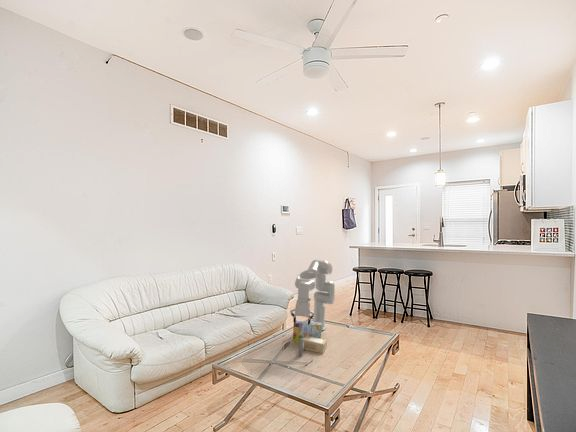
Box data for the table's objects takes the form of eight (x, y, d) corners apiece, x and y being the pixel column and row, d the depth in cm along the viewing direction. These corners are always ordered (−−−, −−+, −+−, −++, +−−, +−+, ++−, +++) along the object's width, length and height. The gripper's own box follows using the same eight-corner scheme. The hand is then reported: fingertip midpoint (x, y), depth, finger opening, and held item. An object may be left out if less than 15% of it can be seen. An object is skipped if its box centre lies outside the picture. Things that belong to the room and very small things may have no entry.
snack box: (320, 341, 244) (321, 322, 243) (320, 344, 238) (321, 325, 238) (293, 338, 246) (294, 319, 245) (292, 342, 241) (293, 322, 240)
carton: (305, 343, 238) (306, 335, 238) (326, 348, 232) (326, 340, 232) (302, 348, 231) (302, 339, 231) (323, 353, 225) (323, 344, 224)
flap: (300, 347, 231) (301, 332, 230) (303, 348, 230) (304, 332, 230) (298, 356, 218) (299, 339, 218) (302, 356, 218) (303, 339, 218)
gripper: (316, 299, 221) (314, 323, 222) (291, 296, 224) (290, 320, 225) (315, 302, 213) (313, 327, 214) (289, 299, 216) (288, 324, 217)
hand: (301, 323), depth 219 cm, fingers open, 9 cm apart
